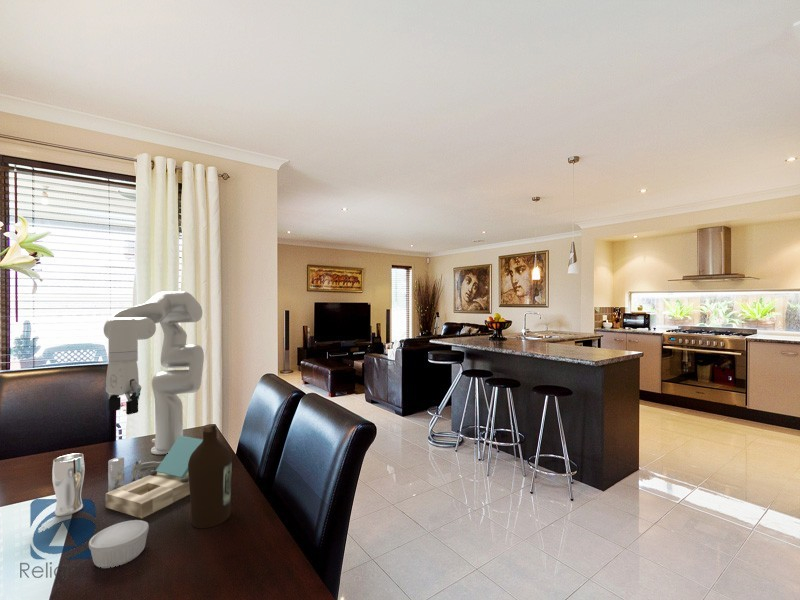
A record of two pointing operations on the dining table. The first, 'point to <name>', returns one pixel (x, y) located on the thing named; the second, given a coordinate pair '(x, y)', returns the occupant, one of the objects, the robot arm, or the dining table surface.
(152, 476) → the wooden block
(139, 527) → the ramekin
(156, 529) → the dining table surface
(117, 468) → the steel peg
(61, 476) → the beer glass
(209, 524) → the olive oil
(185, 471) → the latch flap
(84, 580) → the dining table surface
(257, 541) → the dining table surface
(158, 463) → the caliper
